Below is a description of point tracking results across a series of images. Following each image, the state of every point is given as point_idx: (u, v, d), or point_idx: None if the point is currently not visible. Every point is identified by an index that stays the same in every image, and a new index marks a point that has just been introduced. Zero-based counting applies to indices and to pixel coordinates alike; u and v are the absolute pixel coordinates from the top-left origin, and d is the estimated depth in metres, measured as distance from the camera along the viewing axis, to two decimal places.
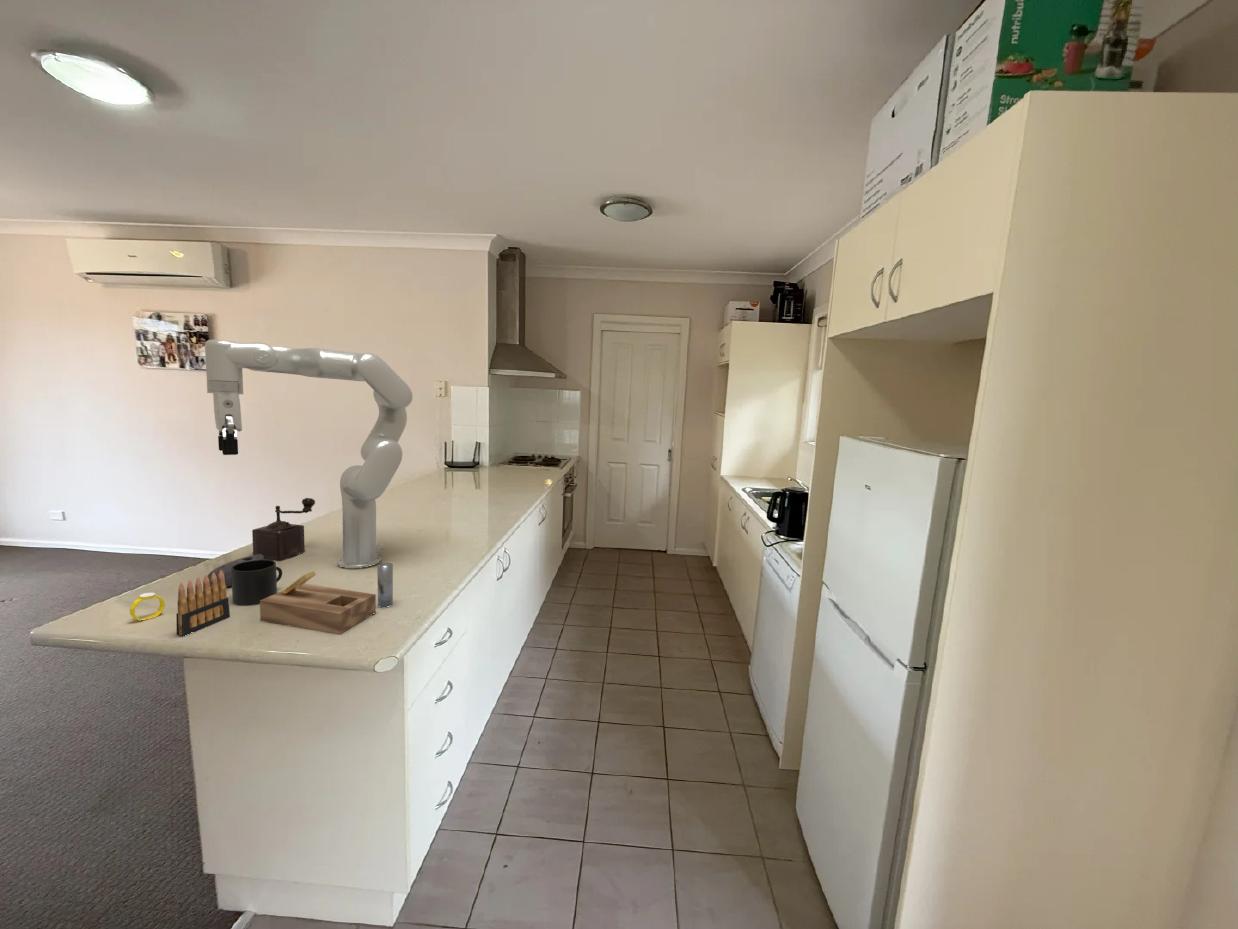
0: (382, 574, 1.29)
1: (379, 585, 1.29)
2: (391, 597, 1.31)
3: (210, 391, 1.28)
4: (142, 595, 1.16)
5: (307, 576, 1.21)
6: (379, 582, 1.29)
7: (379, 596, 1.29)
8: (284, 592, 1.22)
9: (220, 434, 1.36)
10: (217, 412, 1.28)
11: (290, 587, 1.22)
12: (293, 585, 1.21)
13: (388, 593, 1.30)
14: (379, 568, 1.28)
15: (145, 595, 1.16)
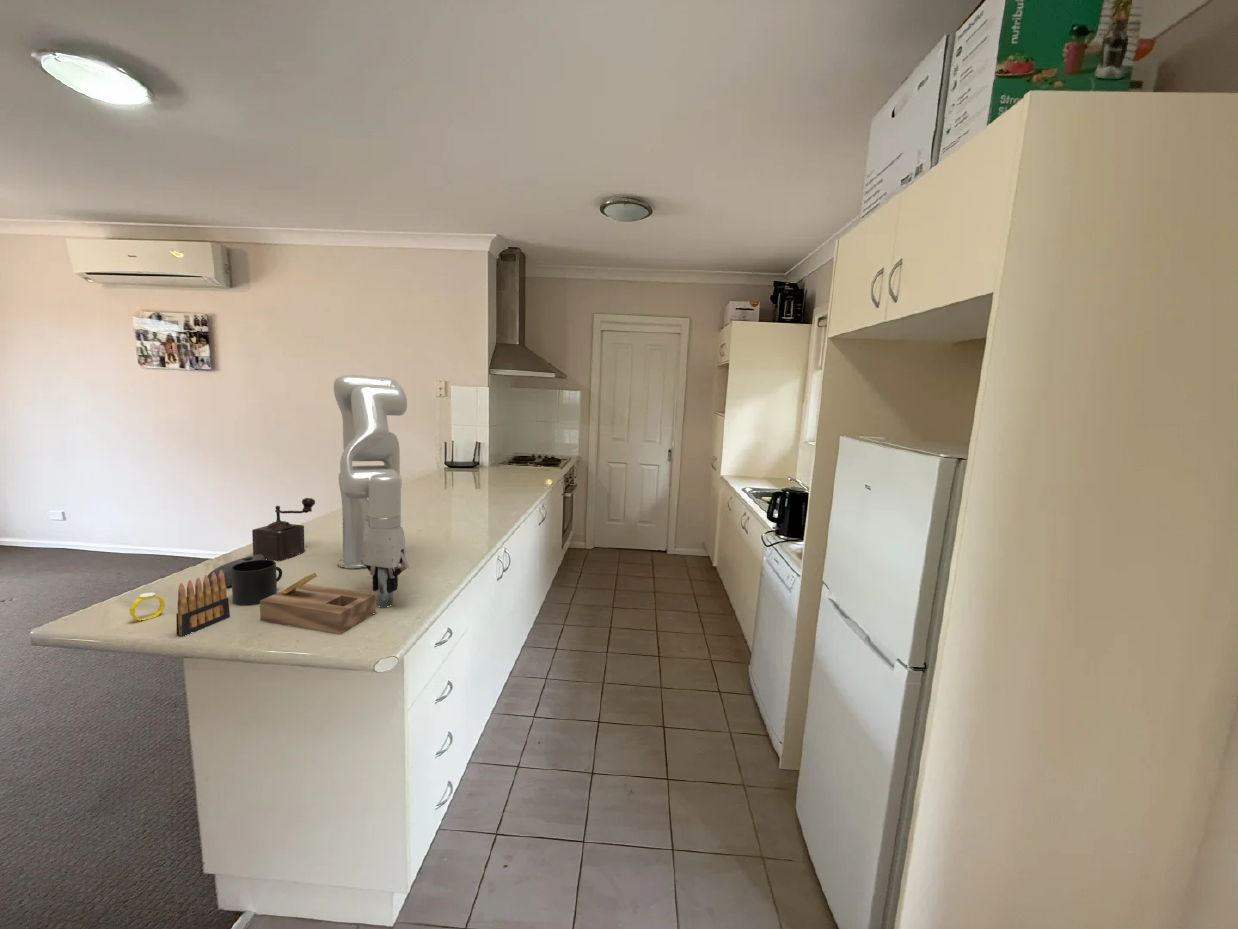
0: (382, 574, 1.29)
1: (379, 585, 1.29)
2: (391, 597, 1.31)
3: None
4: (142, 595, 1.16)
5: (308, 578, 1.21)
6: (379, 582, 1.29)
7: (379, 596, 1.29)
8: (284, 592, 1.22)
9: None
10: None
11: (290, 588, 1.22)
12: (294, 586, 1.21)
13: (388, 593, 1.30)
14: (379, 568, 1.28)
15: (145, 595, 1.16)
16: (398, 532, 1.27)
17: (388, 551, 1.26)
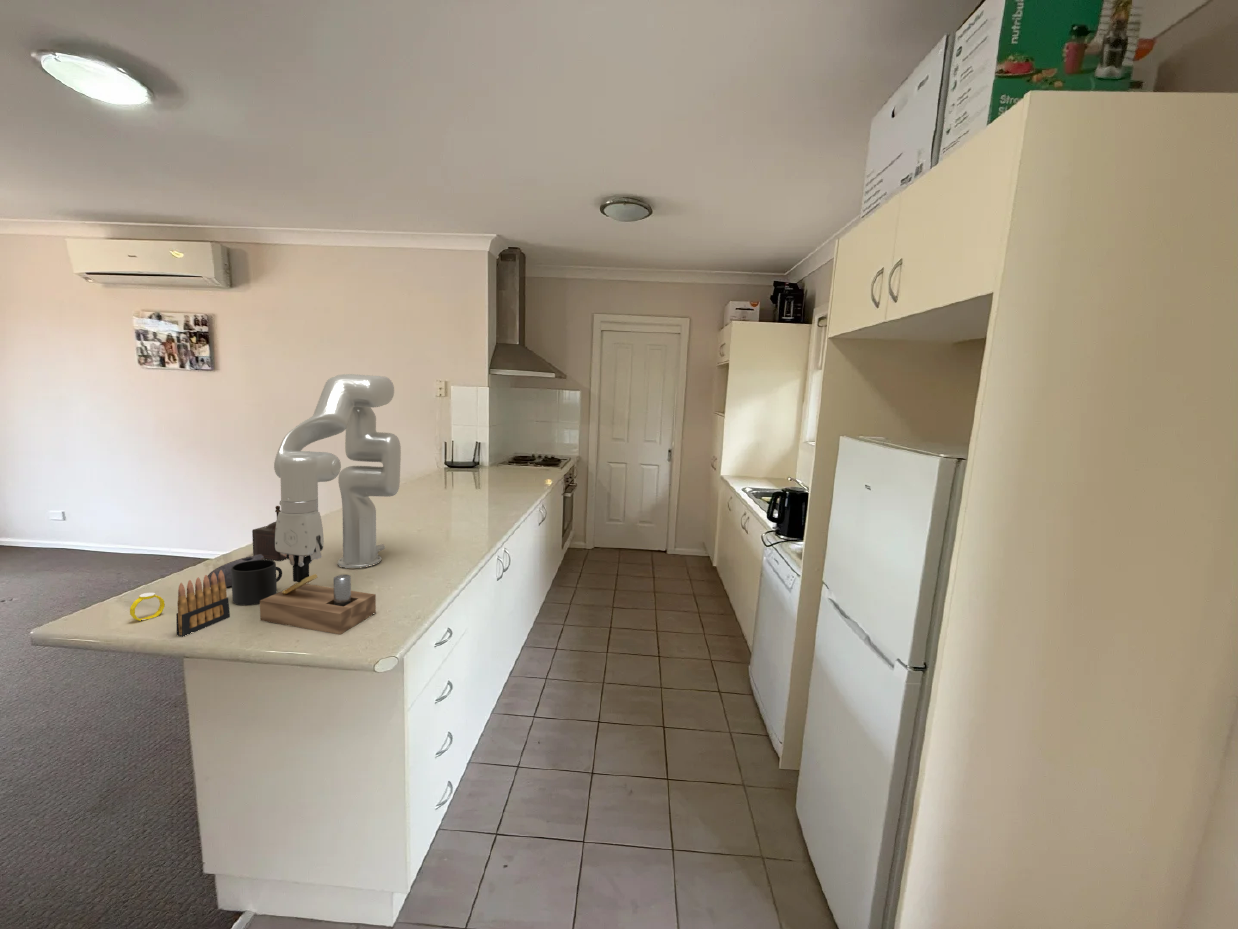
0: (338, 588, 1.19)
1: (335, 599, 1.19)
2: None
3: None
4: (142, 595, 1.16)
5: (309, 579, 1.21)
6: (335, 596, 1.19)
7: None
8: (284, 592, 1.22)
9: None
10: None
11: (291, 588, 1.22)
12: (294, 586, 1.21)
13: None
14: (335, 581, 1.19)
15: (145, 595, 1.16)
16: (313, 516, 1.19)
17: (301, 537, 1.18)
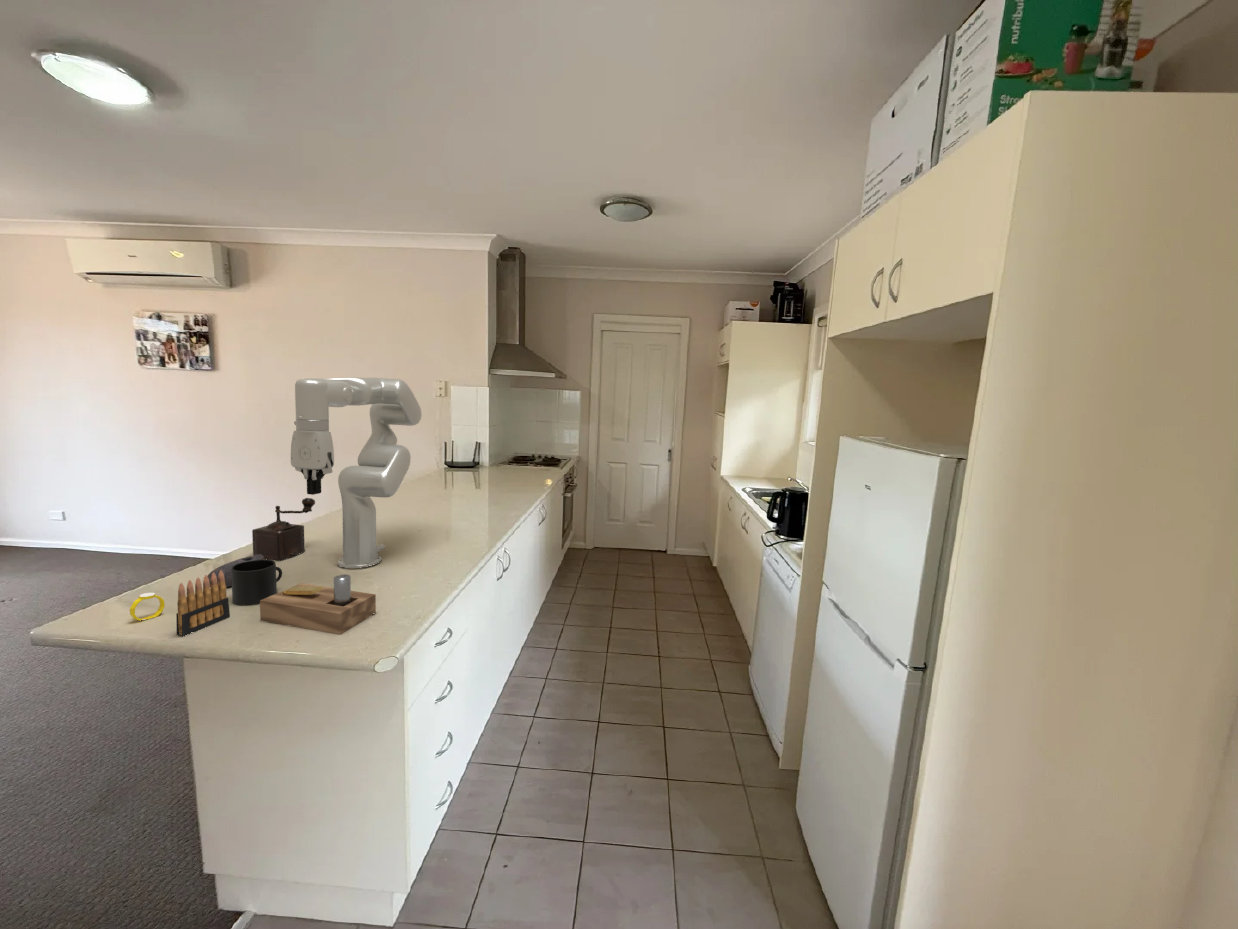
0: (338, 588, 1.19)
1: (335, 599, 1.19)
2: None
3: None
4: (142, 595, 1.16)
5: (314, 592, 1.21)
6: (335, 596, 1.19)
7: None
8: (285, 592, 1.22)
9: None
10: None
11: (293, 592, 1.22)
12: (297, 592, 1.22)
13: None
14: (335, 581, 1.19)
15: (145, 595, 1.16)
16: (325, 434, 1.32)
17: (314, 452, 1.31)
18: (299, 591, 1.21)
